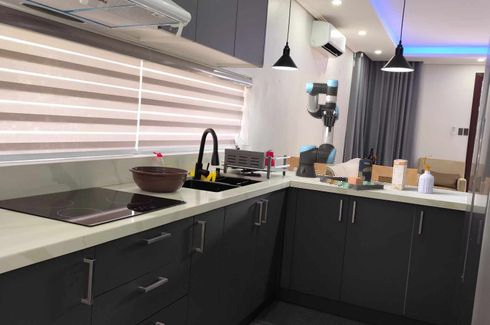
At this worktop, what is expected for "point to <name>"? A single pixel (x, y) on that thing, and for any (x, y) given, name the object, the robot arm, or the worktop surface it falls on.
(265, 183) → the worktop surface
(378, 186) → the trap channel
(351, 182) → the block
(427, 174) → the soap bottle
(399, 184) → the coffeecake box
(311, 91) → the robot arm
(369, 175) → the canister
